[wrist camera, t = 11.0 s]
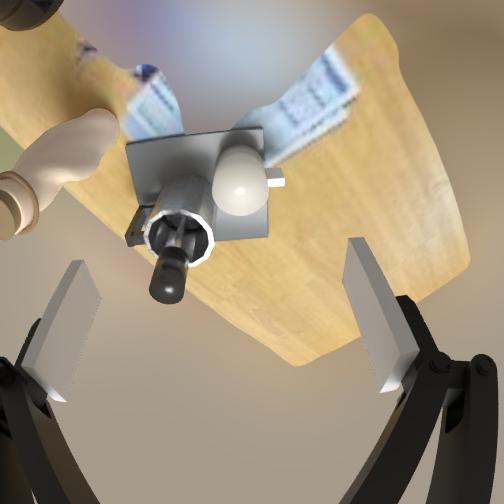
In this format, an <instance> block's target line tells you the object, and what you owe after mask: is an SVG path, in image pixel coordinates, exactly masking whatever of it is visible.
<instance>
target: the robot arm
mask: <svg viewBox="0 0 504 504" xmlns="http://www.w3.org/2000/svg"><path fill="white" fill-rule="evenodd" d="M63 1H64V0H0V25H1V26H3V27H5V28H6V29H8V30H12V31H25V30H30V29H33V28H36V27H38V26H40V25H41V24H43V23H44V22H46V21H47V20H48V19H49V18H50V17H51V16H52V15H53V14H54V13H55V12H56V11H57V10H58V9H59V7H60V6H61V4H62V3H63ZM342 282H343V285H344V288H345V291H346V293H347V296H348V299H349V301H350V304H351V307H352V310H353V313H354V315H355V318H356V321H357V324H358V327H359V330H360V333H361V336H362V339H363V342H364V344H365V347H366V351H367V354H368V357H369V360H370V363H371V366H372V369H373V372H374V376H375V379H376V382H377V385H378V389H379V392H380V393H382V392H387V391H391V390H395V389H397V388H398V386H399V385H400V383H402V386H403V388H404V391H403V392H402V394H401V395H400V397H399V398H398V400H397V402H398V403H397V405H396V407H395V409H394V411H393V413H392V415H391V417H390V419H389V421H388V423H387V425H386V427H385V429H384V431H383V433H382V434H381V436H380V438H379V440H378V442H377V444H376V446H375V447H374V449H373V451H372V452H371V454H370V456H369V458H368V459H367V461H366V463H365V464H364V466H363V467H362V469H361V471H360V472H359V474H358V476H357V477H356V479H355V480H354V482H353V483H352V485H351V486H350V488H349V490H348V491H347V492H346V494H345V495H344V497H343V498H342V500H341V501H340V503H339V504H398V502H399V500H400V499H401V497H402V495H403V493H404V491H405V489H406V487H407V486H408V484H409V482H410V480H411V478H412V476H413V474H414V472H415V470H416V468H417V466H418V464H419V462H420V459H421V457H422V455H423V453H424V451H425V448H426V446H427V443H428V441H429V439H430V436H431V434H432V431H433V429H434V427H435V424H436V421H437V419H438V416H439V413H440V410H441V408H442V407H443V412H442V421H441V429H440V436H439V443H438V449H437V455H436V460H435V465H434V470H433V475H432V480H431V485H430V489H429V493H428V497H427V501H426V504H489V503H490V498H491V493H492V487H493V479H494V472H495V462H496V452H497V438H498V377H497V367H496V364H495V362H494V361H493V359H492V358H490V357H489V356H487V355H485V354H478V355H476V356H474V357H473V359H472V360H471V361H454V360H451V359H450V357H449V356H448V355H446V354H445V353H443V352H440V351H439V350H438V348H437V346H436V344H435V342H434V340H433V338H432V336H431V334H430V331H429V329H428V327H427V325H426V323H425V322H424V319H423V317H422V315H421V314H420V311H419V310H418V308H417V306H416V304H415V302H414V301H413V300H411V299H410V298H409V297H408V296H407V295H403V296H396V297H395V296H394V294H393V292H392V290H391V288H390V286H389V284H388V282H387V280H386V278H385V276H384V274H383V272H382V270H381V268H380V266H379V264H378V263H377V261H376V259H375V257H374V255H373V253H372V251H371V250H370V248H369V246H368V244H367V242H366V241H365V239H364V237H357V238H349V239H348V247H347V254H346V260H345V267H344V273H343V279H342ZM101 299H102V298H101V295H100V293H99V291H98V290H97V288H96V285H95V283H94V281H93V279H92V277H91V275H90V272H89V270H88V268H87V266H86V264H85V261H84V260H74V261H72V262H71V263H70V265H69V267H68V269H67V271H66V272H65V274H64V276H63V278H62V279H61V281H60V283H59V285H58V287H57V289H56V291H55V293H54V295H53V296H52V298H51V300H50V303H49V304H48V306H47V308H46V310H45V312H44V314H43V317H42V319H41V318H39V319H38V320H37V321H36V322H35V323H34V324H33V326H32V327H31V329H30V331H29V333H28V337H26V340H25V344H23V347H22V349H21V351H20V353H19V356H18V358H17V360H16V363H15V365H14V366H13V365H12V364H11V363H10V362H9V361H8V359H7V358H5V357H0V504H35V503H34V499H33V495H32V492H33V494H34V496H35V499H36V501H37V503H38V504H100V503H99V501H98V500H97V498H96V496H95V495H94V493H93V491H92V490H91V488H90V486H89V485H88V483H87V481H86V479H85V478H84V476H83V474H82V472H81V470H80V469H79V467H78V465H77V463H76V461H75V459H74V457H73V455H72V453H71V451H70V449H69V447H68V445H67V443H66V441H65V439H64V437H63V434H62V432H61V430H60V428H59V425H58V423H57V421H56V418H55V416H54V413H53V411H52V409H51V406H50V404H49V402H48V401H47V400H46V398H47V394H49V395H50V396H51V397H52V398H53V399H54V400H56V401H62V402H67V401H68V398H69V394H70V390H71V387H72V384H73V380H74V377H75V373H76V370H77V367H78V364H79V361H80V357H81V354H82V351H83V349H84V346H85V343H86V340H87V337H88V334H89V331H90V328H91V325H92V323H93V320H94V317H95V315H96V312H97V309H98V307H99V304H100V301H101ZM31 490H32V491H31Z"/></svg>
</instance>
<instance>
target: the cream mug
mask: <svg viewBox="0 0 504 504" xmlns="http://www.w3.org/2000/svg"><path fill="white" fill-rule="evenodd" d="M275 186H285V178H284V175H283V172H282V169H281V168H266V169H265V168H264V164H263V160H262V157H261V156H260V154H259V153H258V152H257V151H256V150H255V149H254V148H252V147H250V146H247V145H233V146H230V147H228V148H226V149H225V150H223V151H222V152H221V154H220V155H219V156H218V158H217V161H216V166H215V173H214V179H213V186H212V195H213V199H214V201H215V203H216V204H217V206H218V207H219V208H220V209H221V210H223V211H224V212H226V213H228V214H231V215H235V216H245V215H249V214H252V213H254V212H256V211H258V210H259V209H260V208H261V207H262V206H263V205H264V204H265V202H266V200H267V198H268V194H269V187H275Z"/></svg>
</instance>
